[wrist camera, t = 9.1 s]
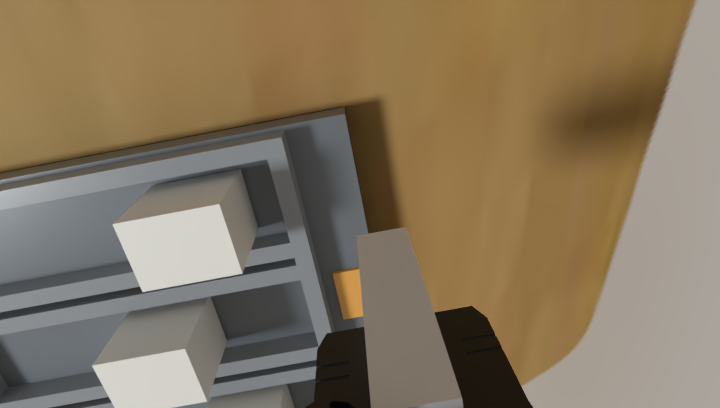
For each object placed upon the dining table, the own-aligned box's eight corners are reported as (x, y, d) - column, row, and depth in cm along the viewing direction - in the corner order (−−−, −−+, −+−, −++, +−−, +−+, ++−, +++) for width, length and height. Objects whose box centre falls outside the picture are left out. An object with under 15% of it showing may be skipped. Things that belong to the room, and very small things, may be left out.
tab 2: (131, 308, 23) (91, 365, 19) (209, 293, 23) (184, 348, 19) (152, 354, 24) (119, 417, 20) (227, 341, 24) (207, 401, 20)
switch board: (-154, 202, 22) (-218, 228, 19) (344, 106, 21) (345, 119, 18) (24, 461, 29) (-5, 504, 26) (400, 395, 28) (406, 433, 25)
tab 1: (152, 185, 20) (112, 224, 17) (240, 168, 20) (219, 204, 16) (175, 243, 21) (142, 292, 18) (258, 228, 21) (242, 273, 18)
